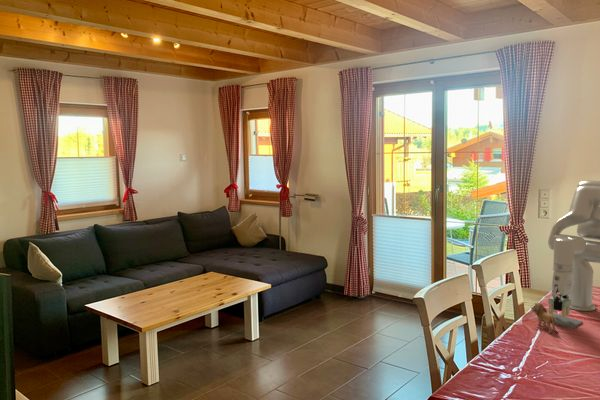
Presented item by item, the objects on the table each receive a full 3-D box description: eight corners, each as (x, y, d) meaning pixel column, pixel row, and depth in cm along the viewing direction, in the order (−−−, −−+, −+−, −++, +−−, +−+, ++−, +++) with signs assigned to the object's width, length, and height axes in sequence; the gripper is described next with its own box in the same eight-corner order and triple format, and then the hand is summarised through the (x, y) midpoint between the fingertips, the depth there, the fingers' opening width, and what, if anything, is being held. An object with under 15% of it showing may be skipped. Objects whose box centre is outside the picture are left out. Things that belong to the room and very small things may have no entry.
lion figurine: (528, 322, 206) (529, 301, 205) (539, 321, 207) (540, 300, 206) (552, 335, 192) (553, 313, 191) (564, 334, 193) (565, 312, 192)
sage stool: (570, 315, 205) (571, 299, 204) (564, 318, 202) (565, 302, 201) (553, 311, 211) (554, 295, 210) (547, 313, 208) (548, 297, 207)
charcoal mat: (549, 314, 215) (549, 312, 215) (582, 323, 204) (583, 321, 204) (538, 319, 209) (538, 317, 209) (571, 329, 198) (572, 327, 198)
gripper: (562, 272, 196) (560, 315, 198) (581, 265, 206) (579, 306, 208) (544, 268, 201) (542, 310, 204) (563, 262, 212) (561, 302, 214)
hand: (560, 308), depth 206 cm, fingers closed on sage stool, 5 cm apart
